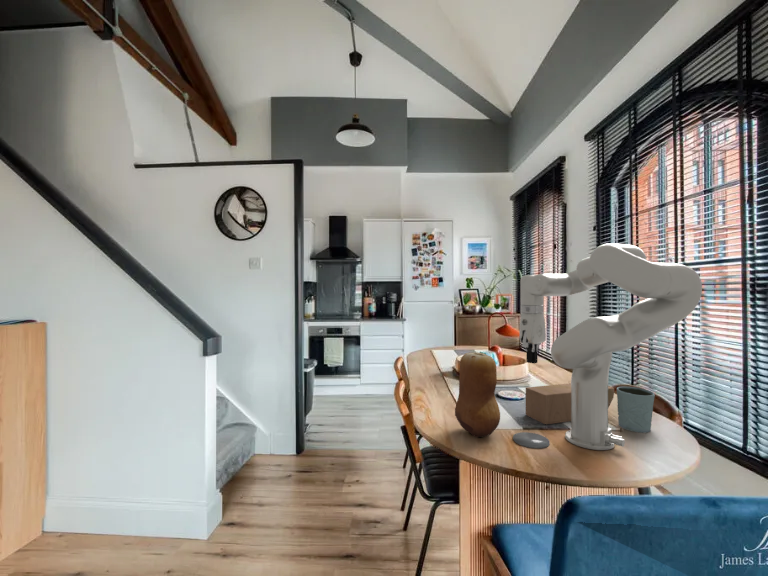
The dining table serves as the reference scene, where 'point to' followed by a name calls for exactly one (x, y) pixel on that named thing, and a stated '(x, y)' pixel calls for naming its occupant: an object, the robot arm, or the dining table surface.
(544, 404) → the decorative block
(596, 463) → the dining table surface
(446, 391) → the dining table surface
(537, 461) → the dining table surface
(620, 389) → the grey-green cup
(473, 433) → the butternut squash
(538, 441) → the grey dome
